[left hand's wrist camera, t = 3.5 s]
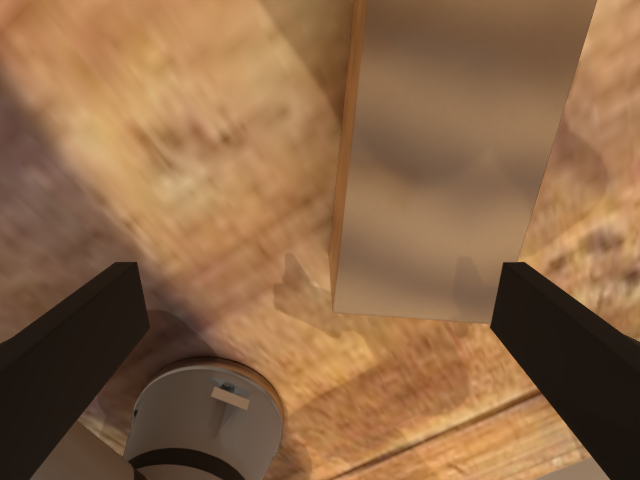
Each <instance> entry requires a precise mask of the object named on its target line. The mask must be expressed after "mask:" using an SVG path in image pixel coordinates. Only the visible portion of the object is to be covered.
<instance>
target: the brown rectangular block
mask: <svg viewBox="0 0 640 480" xmlns="http://www.w3.org/2000/svg"><path fill="white" fill-rule="evenodd" d="M596 2H597V0H355V1H354V8H353V18H352V28H351V38H350V48H349V58H348V68H347V78H346V88H345V98H344V108H343V118H342V128H341V138H340V148H339V158H338V167H337V177H336V187H335V197H334V207H333V217H332V227H331V237H330V247H329V266H330V281H331V296H332V311H333V313H345V314H359V315H373V316H387V317H400V318H414V319H428V320H442V321H456V322H470V323H484V324H491V320H492V315H493V310H494V305H495V300H496V295H497V290H498V285H499V280H500V275H501V270H502V265H503V262H517V261H518V258H519V255H520V251H521V248H522V245H523V242H524V238H525V235H526V232H527V228H528V225H529V222H530V219H531V215H532V212H533V209H534V206H535V202H536V199H537V196H538V192H539V189H540V186H541V183H542V179H543V176H544V173H545V169H546V166H547V163H548V160H549V156H550V153H551V150H552V147H553V143H554V140H555V137H556V133H557V130H558V127H559V124H560V120H561V117H562V114H563V110H564V107H565V104H566V101H567V97H568V94H569V91H570V88H571V84H572V81H573V78H574V74H575V71H576V68H577V65H578V61H579V58H580V55H581V52H582V48H583V45H584V42H585V38H586V35H587V32H588V29H589V25H590V22H591V19H592V15H593V12H594V9H595V6H596Z"/></svg>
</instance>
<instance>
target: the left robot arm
mask: <svg viewBox="0 0 640 480" xmlns="http://www.w3.org/2000/svg"><path fill="white" fill-rule="evenodd" d="M149 328H150V325H149V320H148V315H147V310H146V305H145V300H144V295H143V290H142V285H141V280H140V275H139V270H138V265H137V262H115V263H114V264H112V265H111V266H110V267H108V268H107V269H105V270H104V271H103V272H101V273H100V274H99V275H97V276H96V277H94V278H93V279H92V280H90V281H89V282H88V283H86V284H85V285H84V286H82V287H81V288H79V289H78V290H77V291H75V292H74V293H73V294H71V295H70V296H68V297H67V298H66V299H64V300H63V301H62V302H60V303H59V304H58V305H56V306H55V307H53V308H52V309H51V310H49V311H48V312H47V313H45V314H44V315H42V316H41V317H40V318H38V319H37V320H36V321H34V322H33V323H32V324H30V325H29V326H27V327H26V328H25V329H23V330H22V331H21V332H19V333H18V334H16V335H15V336H14V337H12V338H11V339H9V340H7V341H5V342H3V343H0V480H263V478H264V476H265V474H266V471H267V469H268V467H269V465H270V463H271V461H272V459H273V458H274V456H275V454H276V452H277V450H278V448H279V445H280V443H281V438H282V432H283V423H284V412H283V407H282V404H281V401H280V399H279V397H278V395H277V393H276V392H275V390H274V389H273V387H272V386H271V385H270V384H269V383H268V382H267V381H266V380H265V379H264V378H263V377H262V376H260V375H259V374H258V373H256V372H254V371H253V370H251V369H249V368H247V367H245V366H243V365H241V364H238V363H236V362H232V361H229V360H225V359H219V358H210V357H199V358H190V359H185V360H181V361H178V362H175V363H172V364H170V365H168V366H166V367H165V368H163V369H161V370H160V371H159V372H157V373H156V374H155V375H154V376H153V377H152V378H151V379H150V381H149V382H148V383H147V385H146V386H145V388H144V389H143V391H142V393H141V394H140V396H139V397H138V399H137V401H136V404H135V406H134V410H133V414H132V419H131V431H130V434H129V437H128V440H127V443H126V447H125V452H124V456H123V458H122V457H121V456H120V455H119V454H118V453H116V452H115V451H114V450H113V449H111V448H110V447H109V446H108V445H107V444H105V443H104V442H103V441H102V440H100V439H99V438H98V437H97V436H95V435H94V434H93V433H92V432H91V431H89V430H88V429H87V428H86V427H84V426H83V425H82V424H81V423H80V422H78V421H77V419H78V418H79V417H80V415H81V414H82V413H83V412H84V410H85V409H86V408H87V407H88V405H89V404H90V403H91V401H92V400H93V399H94V398H95V396H96V395H97V394H98V393H99V391H100V390H101V389H102V388H103V386H104V385H105V384H106V383H107V381H108V380H109V379H110V377H111V376H112V375H113V374H114V372H115V371H116V370H117V369H118V367H119V366H120V365H121V364H122V362H123V361H124V360H125V359H126V357H127V356H128V355H129V353H130V352H131V351H132V350H133V348H134V347H135V346H136V345H137V343H138V342H139V341H140V340H141V338H142V337H143V336H144V334H145V333H146V332H147V331H148V329H149ZM490 328H491V329H492V331H493V332H494V333H495V334H496V336H497V337H498V338H499V340H500V341H501V342H502V343H503V345H504V346H505V347H506V348H507V350H508V351H509V352H510V353H511V355H512V356H513V357H514V359H515V360H516V361H517V362H518V364H519V365H520V366H521V367H522V369H523V370H524V371H525V372H526V374H527V375H528V376H529V377H530V379H531V380H532V381H533V383H534V384H535V385H536V386H537V388H538V389H539V390H540V391H541V393H542V394H543V395H544V396H545V398H546V399H547V400H548V401H549V403H550V404H551V405H552V407H553V408H554V409H555V410H556V412H557V413H558V414H559V415H560V417H561V418H562V419H563V420H564V422H565V423H566V424H567V425H568V427H569V428H570V429H571V431H572V432H573V433H574V434H575V436H576V437H577V438H578V439H579V441H580V442H581V443H582V444H583V446H584V447H585V448H586V449H587V451H588V452H589V453H590V455H591V456H592V457H593V458H594V460H595V461H596V462H597V463H598V465H599V466H600V467H601V468H602V470H603V471H604V472H605V473H606V475H607V476H608V477H609V479H610V480H640V342H639V341H637V340H635V339H632V338H630V337H628V336H626V335H624V334H622V333H621V332H619V331H618V330H617V329H615V328H614V327H613V326H611V325H610V324H608V323H607V322H606V321H604V320H603V319H602V318H600V317H599V316H598V315H596V314H595V313H593V312H592V311H591V310H589V309H588V308H587V307H585V306H584V305H582V304H581V303H580V302H578V301H577V300H576V299H574V298H573V297H572V296H570V295H569V294H567V293H566V292H565V291H563V290H562V289H561V288H559V287H558V286H556V285H555V284H554V283H552V282H551V281H550V280H548V279H547V278H546V277H544V276H543V275H541V274H540V273H539V272H537V271H536V270H535V269H533V268H532V267H530V266H529V265H528V264H526V263H525V262H503V265H502V270H501V275H500V280H499V285H498V290H497V295H496V300H495V305H494V310H493V315H492V320H491V325H490Z"/></svg>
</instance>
